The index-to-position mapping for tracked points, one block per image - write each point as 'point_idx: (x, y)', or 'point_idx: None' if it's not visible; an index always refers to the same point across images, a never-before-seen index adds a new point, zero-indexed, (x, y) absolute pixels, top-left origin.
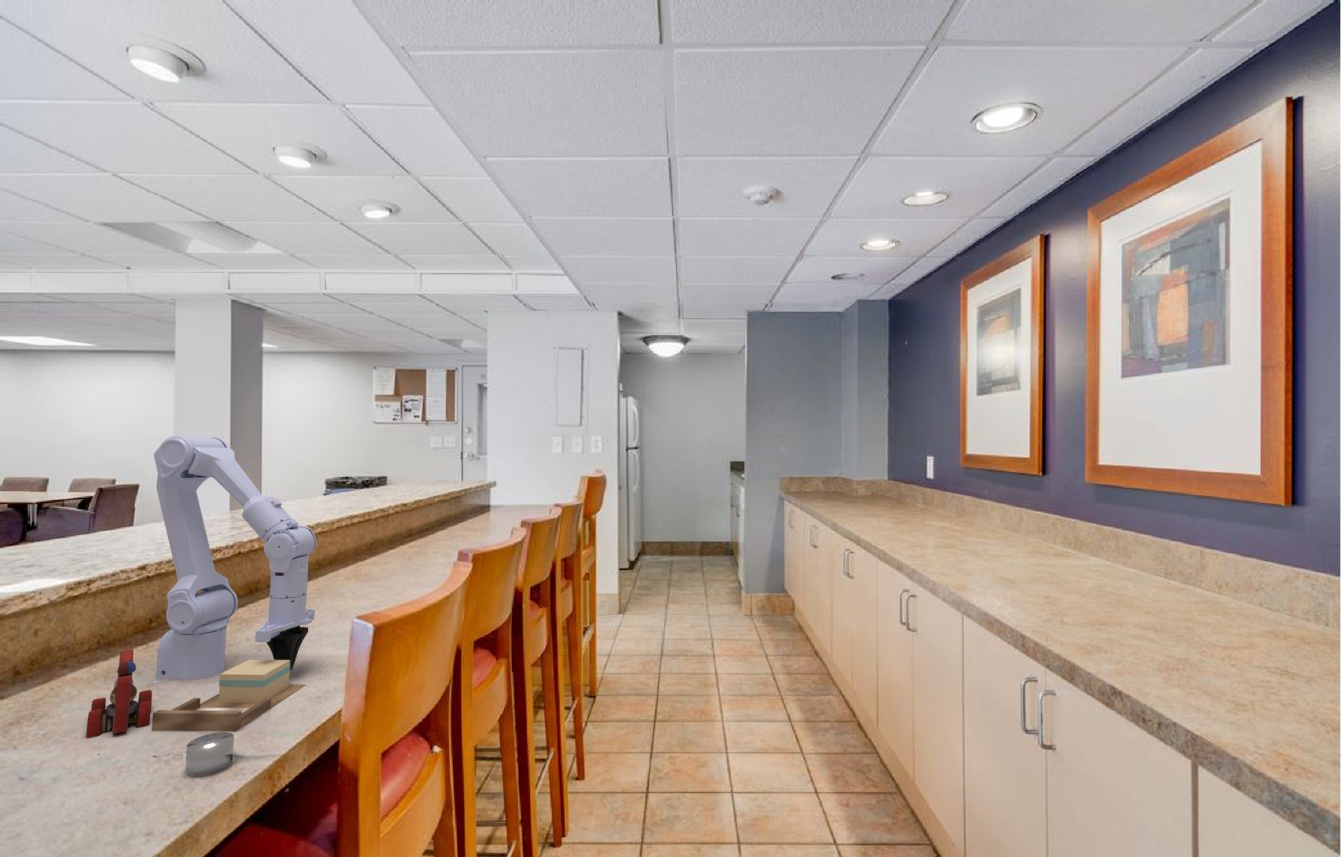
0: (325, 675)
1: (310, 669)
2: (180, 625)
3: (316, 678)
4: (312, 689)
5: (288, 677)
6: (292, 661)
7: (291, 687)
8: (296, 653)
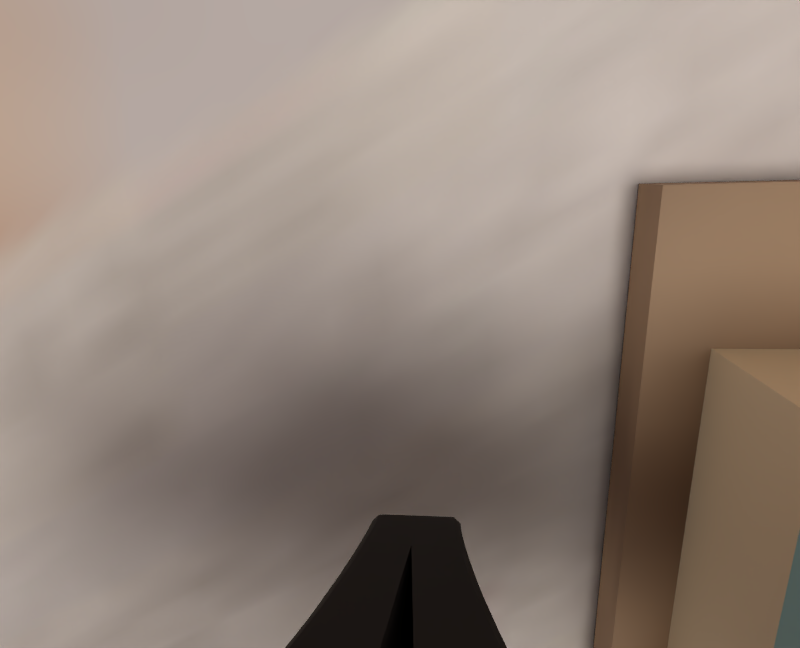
0: (220, 225)
1: (108, 441)
2: None
3: (306, 269)
4: (609, 136)
5: (788, 390)
6: (421, 576)
7: (749, 304)
8: (334, 641)
